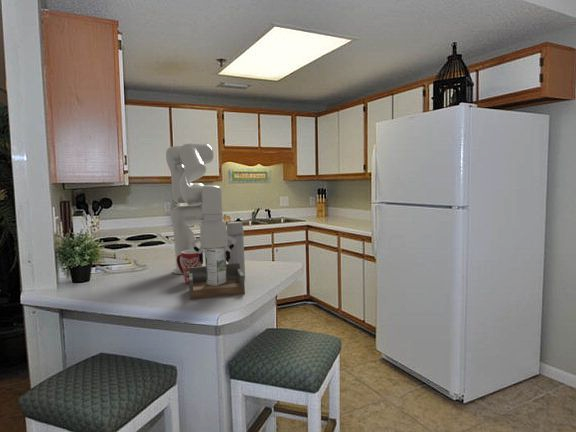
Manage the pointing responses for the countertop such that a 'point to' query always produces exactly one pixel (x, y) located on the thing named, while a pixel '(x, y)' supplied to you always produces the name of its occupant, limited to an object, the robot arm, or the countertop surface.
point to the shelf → (206, 291)
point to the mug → (188, 262)
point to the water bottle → (236, 244)
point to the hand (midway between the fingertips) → (214, 262)
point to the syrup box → (215, 266)
